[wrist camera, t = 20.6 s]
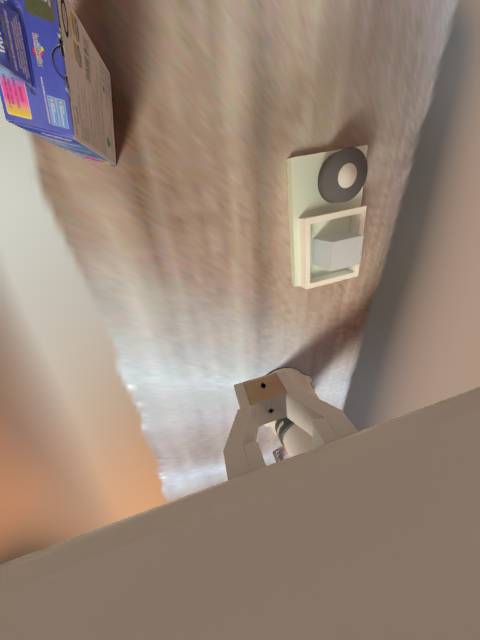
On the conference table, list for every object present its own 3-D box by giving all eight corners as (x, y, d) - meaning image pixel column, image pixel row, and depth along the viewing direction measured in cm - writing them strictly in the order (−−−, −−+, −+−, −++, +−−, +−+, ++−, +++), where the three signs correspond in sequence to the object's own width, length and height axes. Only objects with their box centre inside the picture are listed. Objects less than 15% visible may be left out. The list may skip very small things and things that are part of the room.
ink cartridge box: (56, 51, 24) (-87, -130, 11) (110, 70, 25) (38, -70, 13) (71, 156, 28) (-22, 109, 15) (117, 167, 29) (67, 132, 17)
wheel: (353, 198, 36) (364, 197, 34) (316, 206, 35) (326, 205, 33) (357, 148, 32) (370, 143, 30) (317, 155, 32) (328, 150, 29)
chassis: (348, 270, 46) (362, 274, 43) (291, 284, 45) (301, 290, 41) (361, 147, 36) (380, 140, 32) (286, 159, 34) (298, 153, 30)
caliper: (272, 451, 74) (279, 470, 68) (274, 450, 74) (282, 468, 68) (280, 476, 84) (287, 494, 78) (283, 475, 84) (290, 493, 78)
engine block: (338, 257, 43) (360, 263, 38) (312, 264, 42) (330, 271, 37) (340, 232, 40) (363, 235, 35) (312, 238, 39) (332, 242, 34)
